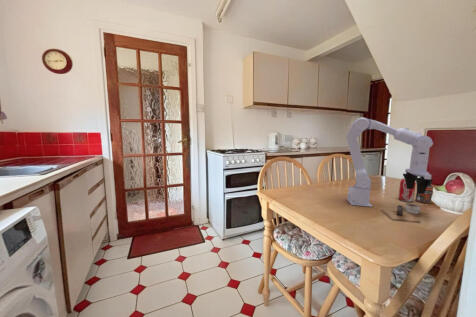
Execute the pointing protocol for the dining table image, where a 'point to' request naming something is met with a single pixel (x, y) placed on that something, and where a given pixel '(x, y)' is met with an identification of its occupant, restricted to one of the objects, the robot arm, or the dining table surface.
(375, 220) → the dining table surface
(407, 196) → the beverage can
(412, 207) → the tube
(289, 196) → the dining table surface
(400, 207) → the shaft stand
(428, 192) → the supplement bottle
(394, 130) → the robot arm
